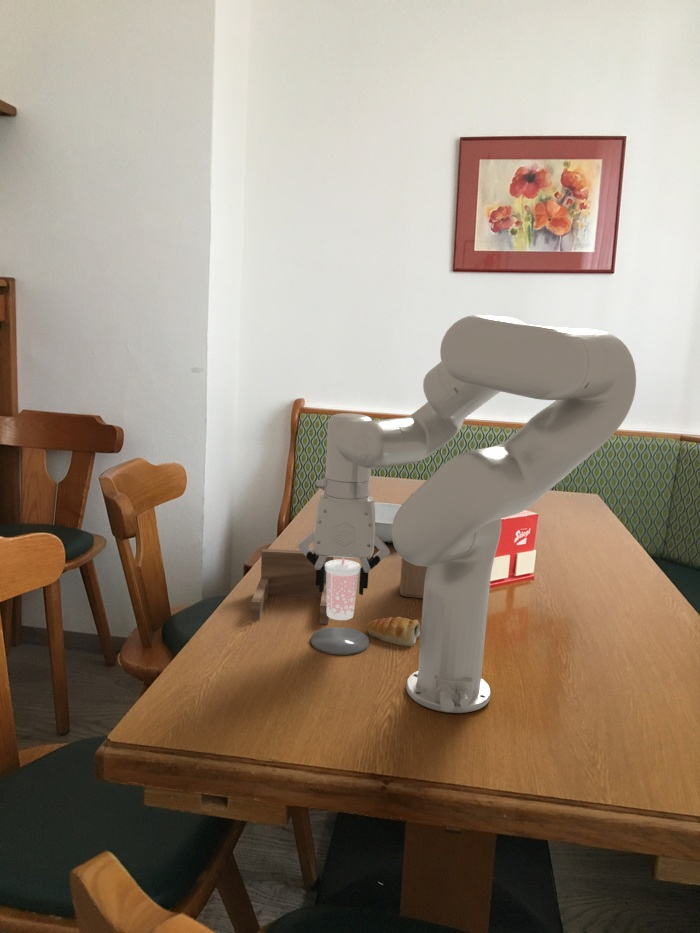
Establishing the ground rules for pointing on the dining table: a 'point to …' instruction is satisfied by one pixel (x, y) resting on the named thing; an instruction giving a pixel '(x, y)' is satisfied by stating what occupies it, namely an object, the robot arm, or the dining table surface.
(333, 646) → the coaster
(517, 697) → the dining table surface
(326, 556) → the robot arm
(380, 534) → the serving bowl
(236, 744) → the dining table surface
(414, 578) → the block
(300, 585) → the rack
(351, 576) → the beverage cup
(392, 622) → the pastry
